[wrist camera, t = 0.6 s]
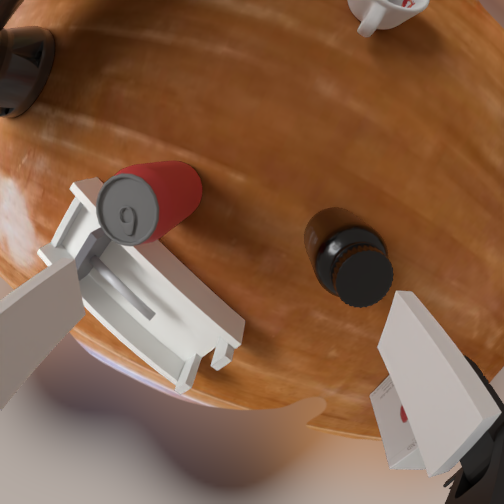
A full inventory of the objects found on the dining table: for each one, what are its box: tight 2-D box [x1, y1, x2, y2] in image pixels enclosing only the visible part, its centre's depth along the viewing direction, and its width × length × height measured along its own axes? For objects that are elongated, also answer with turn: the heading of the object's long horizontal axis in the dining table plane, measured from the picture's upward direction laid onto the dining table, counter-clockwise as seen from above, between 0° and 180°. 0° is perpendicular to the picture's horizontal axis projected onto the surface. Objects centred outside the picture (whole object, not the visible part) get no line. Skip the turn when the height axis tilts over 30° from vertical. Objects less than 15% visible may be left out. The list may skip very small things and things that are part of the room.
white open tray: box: [37, 177, 245, 395], centre depth 32 cm, size 26×12×7 cm, turn 45°
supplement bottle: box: [304, 207, 393, 308], centre depth 26 cm, size 7×7×12 cm
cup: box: [348, 0, 429, 37], centre depth 18 cm, size 11×8×8 cm
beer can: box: [96, 161, 202, 246], centre depth 25 cm, size 7×7×12 cm
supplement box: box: [369, 375, 426, 470], centre depth 31 cm, size 9×9×15 cm
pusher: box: [75, 227, 156, 321], centre depth 31 cm, size 11×9×6 cm
